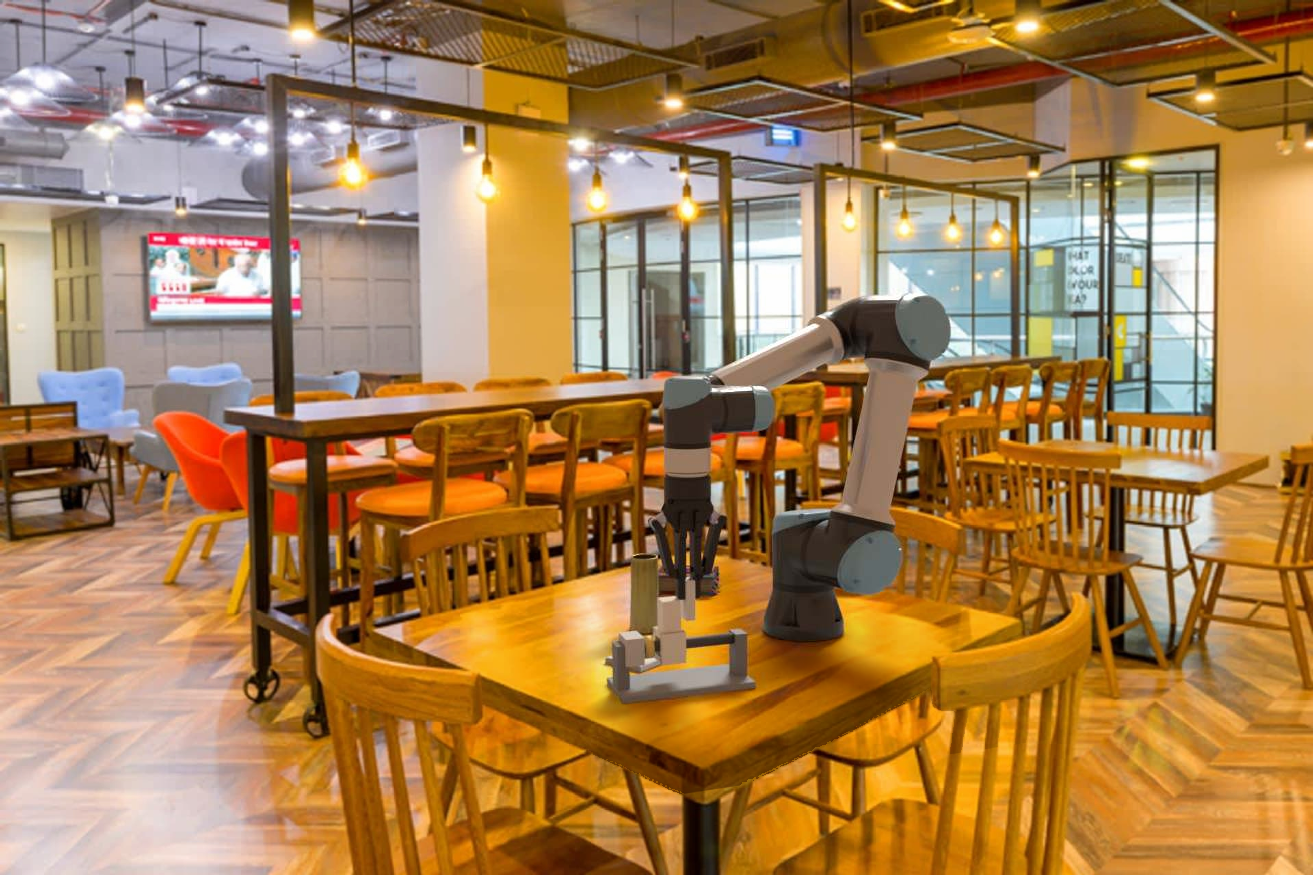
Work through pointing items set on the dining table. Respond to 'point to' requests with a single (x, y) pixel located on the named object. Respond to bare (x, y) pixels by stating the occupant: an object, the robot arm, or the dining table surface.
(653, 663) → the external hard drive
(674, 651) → the stacked pale cubes
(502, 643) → the dining table surface
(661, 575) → the decorative book
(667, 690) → the cord rail
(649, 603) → the vase
